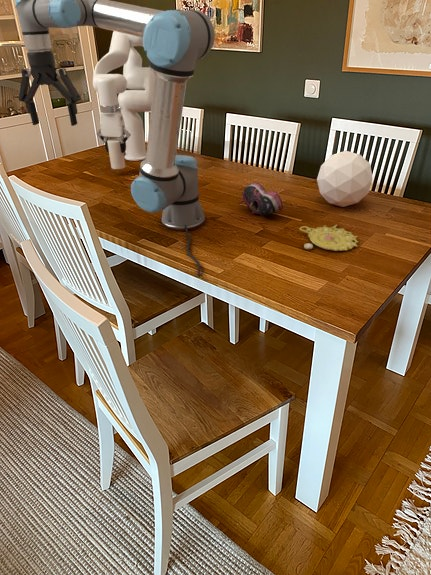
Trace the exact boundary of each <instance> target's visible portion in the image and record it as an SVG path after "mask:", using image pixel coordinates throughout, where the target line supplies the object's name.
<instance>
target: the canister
mask: <svg viewBox="0 0 431 575" xmlns="http://www.w3.org/2000/svg"><path fill="white" fill-rule="evenodd" d="M107 143H108V149H109V152H108V154H109V155H108V156H109V162H110V168H111V169H112V170H122V169H124V168H126V162H125V160H126V159H125V157H124V156H125V152H124V153H121V147H120V144H121V142H120V140H119V138H118V137H112V138H109V140H107Z"/></svg>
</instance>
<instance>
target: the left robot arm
mask: <svg viewBox="0 0 431 575" xmlns="http://www.w3.org/2000/svg"><path fill="white" fill-rule="evenodd" d="M135 47H143V37H138V36H134V35H129V34H125V33H121V32H116V31H112V36H111V40H110V46H109V50H108V52H107V53H106V54H104V55H103V56H102V57H101V58H100V59H99V61H98V62H97V63H96V65H95V67H94V71H93V75H92V87H93V89H94V91H95V92H96V93H98V99H99V106H100V113H99V126H100V127H99V130H98V131H97V132H96V135H97V136H98V138H99V139H101V141H102V142H103V144H104V146H105V150H106V153H109V149H108V143H107V140H109V139H110V138H119V140H120V142H121V144H120V147H121V153H124V160H126V161H130V162H138V161H144V160H145V159H146V155H147V146H146V140H145V130H144V121H143V118H142V117H141V115H140V114H139V113H151V104H152V94H153V84H154V73H153V72H152V70H151V69H150V68H149V66H148V67H146V66H145V67H143V58H142V56H141V54H140V53H139V52H138V50H137V49H136V48H135ZM122 66H123V69H122V74H120V73H110V72H112V71H113V70H116V69H118V68H120V67H122Z"/></svg>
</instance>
